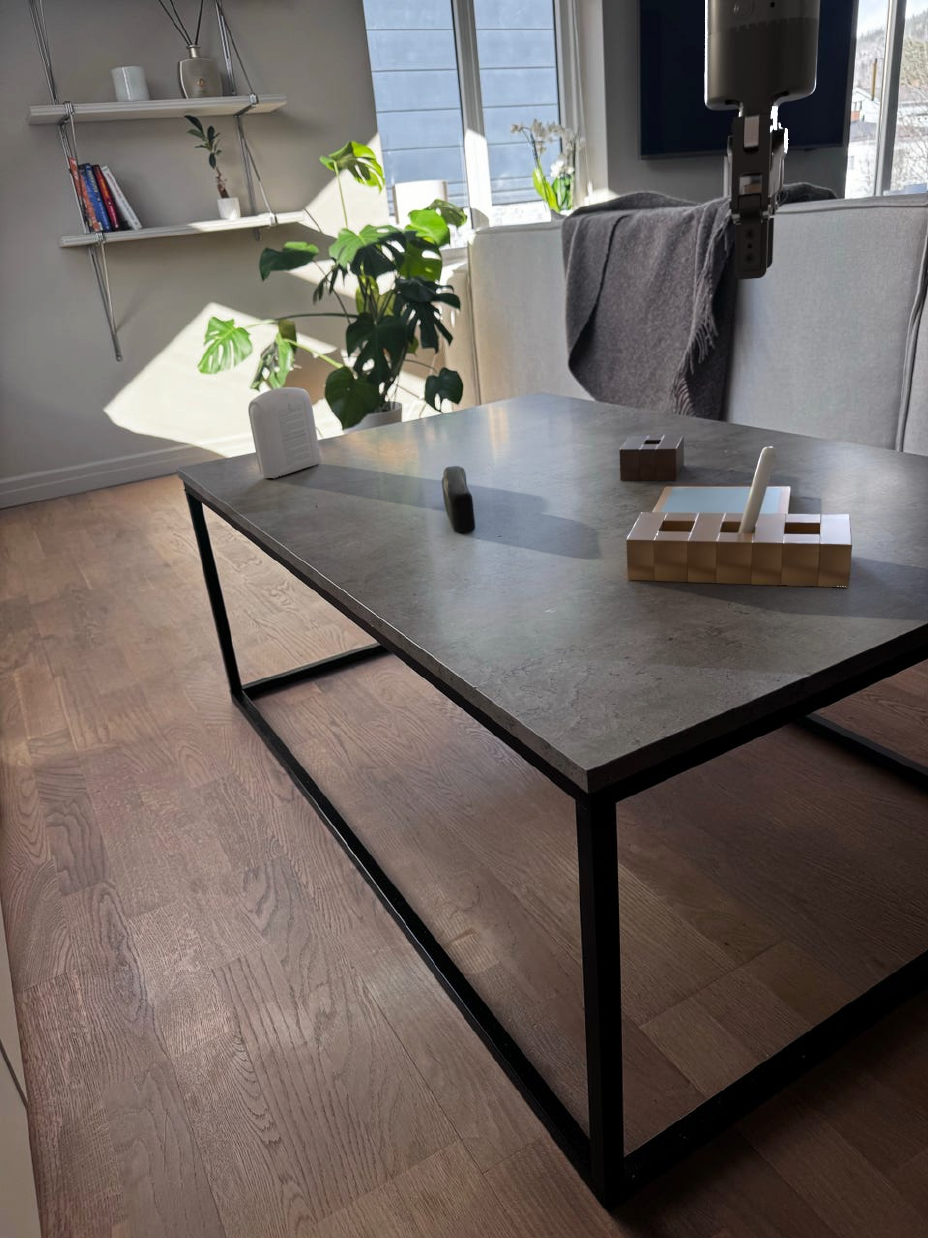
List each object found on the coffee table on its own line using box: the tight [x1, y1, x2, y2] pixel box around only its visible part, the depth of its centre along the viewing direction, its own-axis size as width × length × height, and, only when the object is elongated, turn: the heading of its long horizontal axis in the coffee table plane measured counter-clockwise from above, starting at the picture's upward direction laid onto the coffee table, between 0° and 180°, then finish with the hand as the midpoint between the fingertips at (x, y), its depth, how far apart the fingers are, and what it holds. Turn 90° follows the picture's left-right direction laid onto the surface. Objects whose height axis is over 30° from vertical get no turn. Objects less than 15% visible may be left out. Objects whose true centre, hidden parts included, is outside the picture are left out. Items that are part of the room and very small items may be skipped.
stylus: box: [738, 446, 778, 533], centre depth 80 cm, size 1×1×12 cm
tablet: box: [652, 486, 792, 514], centre depth 95 cm, size 14×18×1 cm
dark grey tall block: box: [441, 465, 476, 533], centre depth 105 cm, size 5×3×15 cm
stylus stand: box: [618, 434, 685, 481], centre depth 113 cm, size 7×7×4 cm
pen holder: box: [625, 511, 853, 588], centre depth 82 cm, size 19×8×4 cm, turn 70°
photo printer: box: [247, 386, 322, 479], centre depth 132 cm, size 10×4×12 cm, turn 140°
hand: (754, 273), depth 68 cm, fingers open, 8 cm apart
